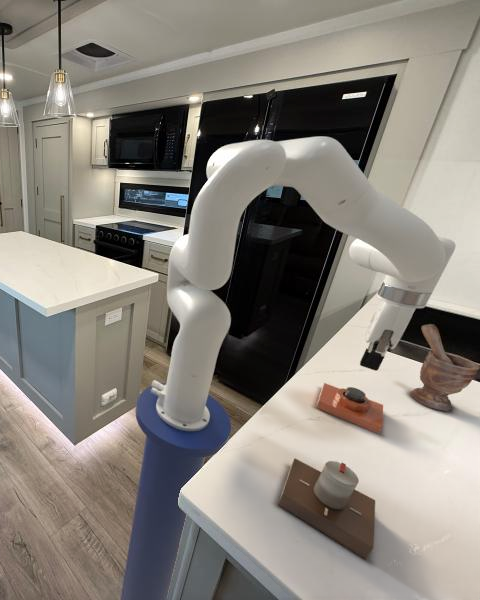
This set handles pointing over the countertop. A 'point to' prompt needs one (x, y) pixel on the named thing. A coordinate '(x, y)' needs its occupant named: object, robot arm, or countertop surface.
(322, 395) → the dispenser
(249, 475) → the countertop surface
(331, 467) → the lock knob
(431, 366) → the mortar and pestle
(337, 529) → the lock panel
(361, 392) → the dark grey push button
